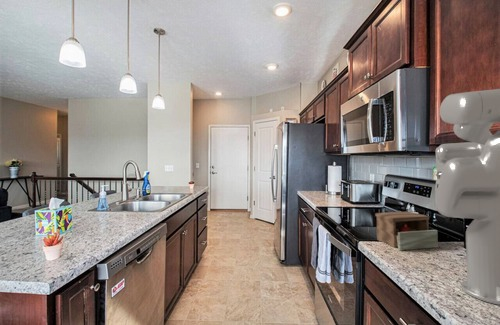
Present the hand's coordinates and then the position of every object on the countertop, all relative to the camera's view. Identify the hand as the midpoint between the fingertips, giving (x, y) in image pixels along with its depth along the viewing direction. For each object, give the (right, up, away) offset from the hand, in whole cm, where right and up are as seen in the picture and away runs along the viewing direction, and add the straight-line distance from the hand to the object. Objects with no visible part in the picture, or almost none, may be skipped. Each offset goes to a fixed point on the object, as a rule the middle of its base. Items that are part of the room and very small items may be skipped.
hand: (451, 222), depth 95 cm
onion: (-6, -14, +19) cm, 24 cm away
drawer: (-5, -15, +19) cm, 24 cm away
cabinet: (-6, -15, +22) cm, 27 cm away
